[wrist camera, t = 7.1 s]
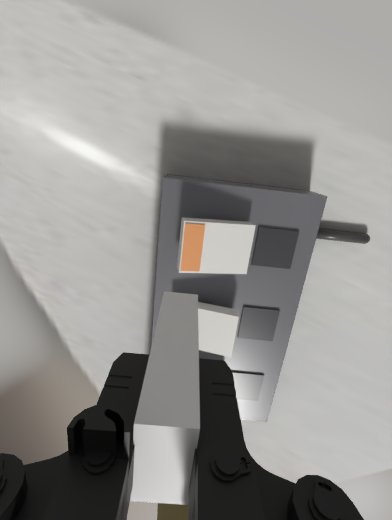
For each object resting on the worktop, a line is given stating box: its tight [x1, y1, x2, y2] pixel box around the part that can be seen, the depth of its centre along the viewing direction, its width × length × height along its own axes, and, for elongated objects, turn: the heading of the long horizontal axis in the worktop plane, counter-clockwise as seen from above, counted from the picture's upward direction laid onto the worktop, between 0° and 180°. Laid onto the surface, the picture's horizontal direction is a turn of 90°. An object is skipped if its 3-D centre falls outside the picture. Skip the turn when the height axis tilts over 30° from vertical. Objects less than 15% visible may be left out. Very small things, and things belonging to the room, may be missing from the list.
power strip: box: [151, 174, 370, 422], centre depth 30 cm, size 21×26×5 cm
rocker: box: [177, 217, 256, 274], centre depth 24 cm, size 6×4×1 cm
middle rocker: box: [198, 302, 240, 357], centre depth 27 cm, size 6×4×1 cm
